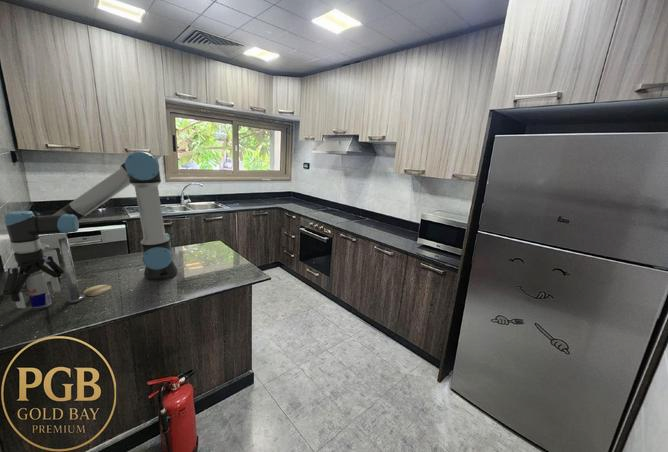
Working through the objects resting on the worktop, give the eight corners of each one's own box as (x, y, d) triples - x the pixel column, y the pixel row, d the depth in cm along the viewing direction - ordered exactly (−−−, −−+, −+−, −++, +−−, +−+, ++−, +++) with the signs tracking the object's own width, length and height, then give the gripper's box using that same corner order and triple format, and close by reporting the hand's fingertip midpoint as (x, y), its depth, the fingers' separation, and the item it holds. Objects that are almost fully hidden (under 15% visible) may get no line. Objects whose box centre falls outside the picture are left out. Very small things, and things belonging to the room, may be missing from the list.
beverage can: (41, 303, 114) (33, 270, 111) (55, 303, 115) (48, 270, 111) (28, 310, 109) (19, 276, 105) (43, 310, 110) (34, 276, 106)
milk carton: (45, 283, 130) (36, 246, 125) (34, 281, 131) (24, 244, 126) (62, 277, 137) (54, 242, 132) (51, 275, 138) (43, 240, 133)
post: (88, 296, 121) (76, 236, 114) (75, 304, 115) (62, 240, 108) (76, 295, 121) (63, 235, 114) (62, 303, 115) (47, 239, 108)
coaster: (116, 286, 131) (116, 285, 131) (98, 296, 121) (98, 295, 121) (97, 285, 131) (96, 284, 131) (77, 295, 122) (76, 294, 121)
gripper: (52, 240, 118) (62, 284, 123) (-23, 261, 94) (-7, 315, 99) (68, 241, 117) (78, 285, 123) (-3, 263, 94) (13, 316, 99)
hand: (40, 298), depth 111 cm, fingers open, 12 cm apart
